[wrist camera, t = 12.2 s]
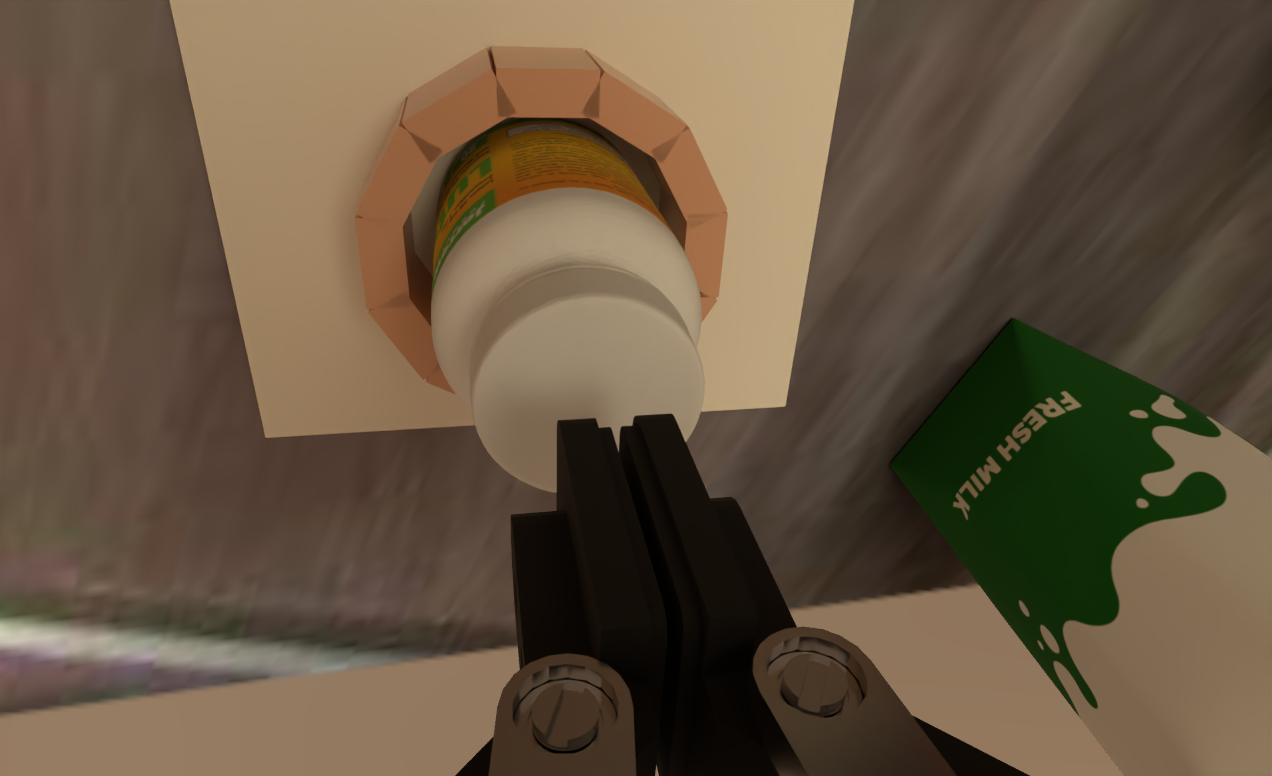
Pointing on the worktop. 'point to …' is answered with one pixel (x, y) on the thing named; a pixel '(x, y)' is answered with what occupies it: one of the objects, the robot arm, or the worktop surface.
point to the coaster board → (412, 56)
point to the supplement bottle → (559, 293)
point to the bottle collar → (476, 104)
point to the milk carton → (1113, 548)
